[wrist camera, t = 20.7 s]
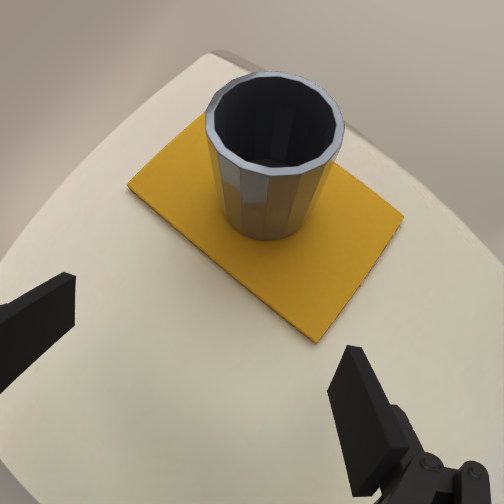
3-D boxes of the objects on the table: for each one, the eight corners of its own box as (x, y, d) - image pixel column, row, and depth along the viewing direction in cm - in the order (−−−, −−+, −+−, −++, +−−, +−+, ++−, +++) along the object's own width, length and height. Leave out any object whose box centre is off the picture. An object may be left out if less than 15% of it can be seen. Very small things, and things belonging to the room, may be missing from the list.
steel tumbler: (200, 202, 25) (176, 124, 16) (259, 143, 27) (264, 56, 18) (273, 261, 24) (290, 204, 15) (329, 193, 26) (367, 116, 16)
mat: (129, 188, 27) (126, 184, 26) (227, 98, 30) (227, 93, 29) (314, 343, 23) (316, 343, 23) (400, 219, 26) (404, 216, 25)
